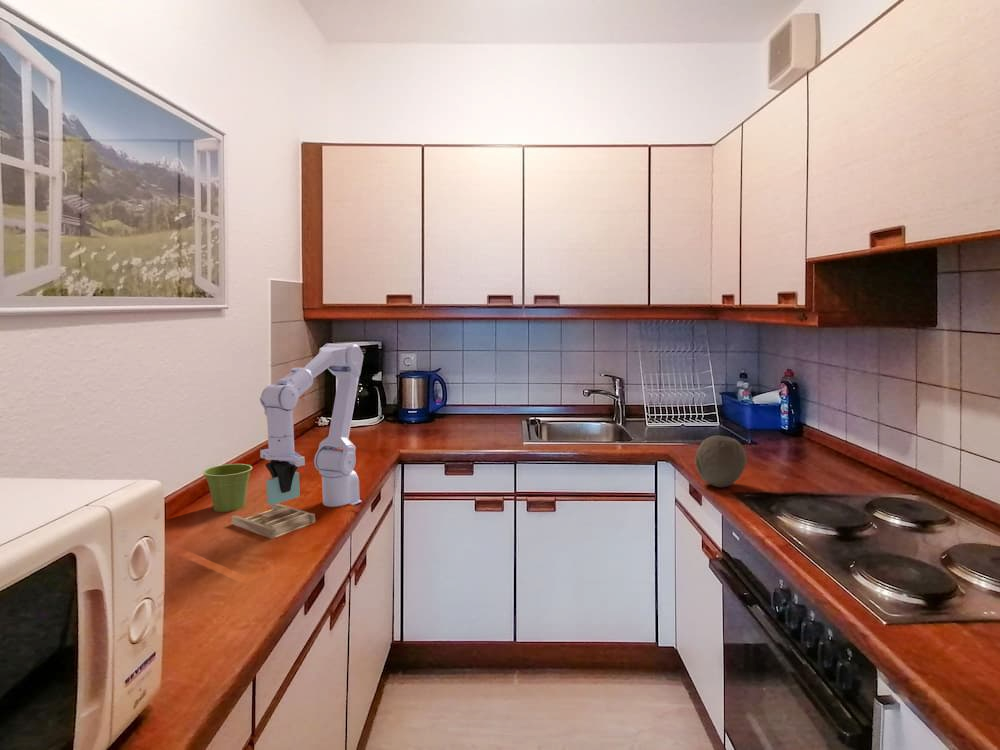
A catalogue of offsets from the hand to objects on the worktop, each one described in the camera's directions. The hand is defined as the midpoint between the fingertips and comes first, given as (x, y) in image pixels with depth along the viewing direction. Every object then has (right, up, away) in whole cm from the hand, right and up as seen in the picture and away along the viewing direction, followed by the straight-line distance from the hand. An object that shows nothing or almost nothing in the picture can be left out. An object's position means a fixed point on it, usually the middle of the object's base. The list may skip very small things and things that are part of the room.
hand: (283, 491), depth 136 cm
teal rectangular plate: (0, -2, 0) cm, 2 cm away
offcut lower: (-3, -9, +3) cm, 10 cm away
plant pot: (-20, -9, +16) cm, 27 cm away
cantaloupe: (+117, -6, +35) cm, 122 cm away
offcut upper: (-3, -7, +3) cm, 9 cm away
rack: (-4, -10, +4) cm, 11 cm away
